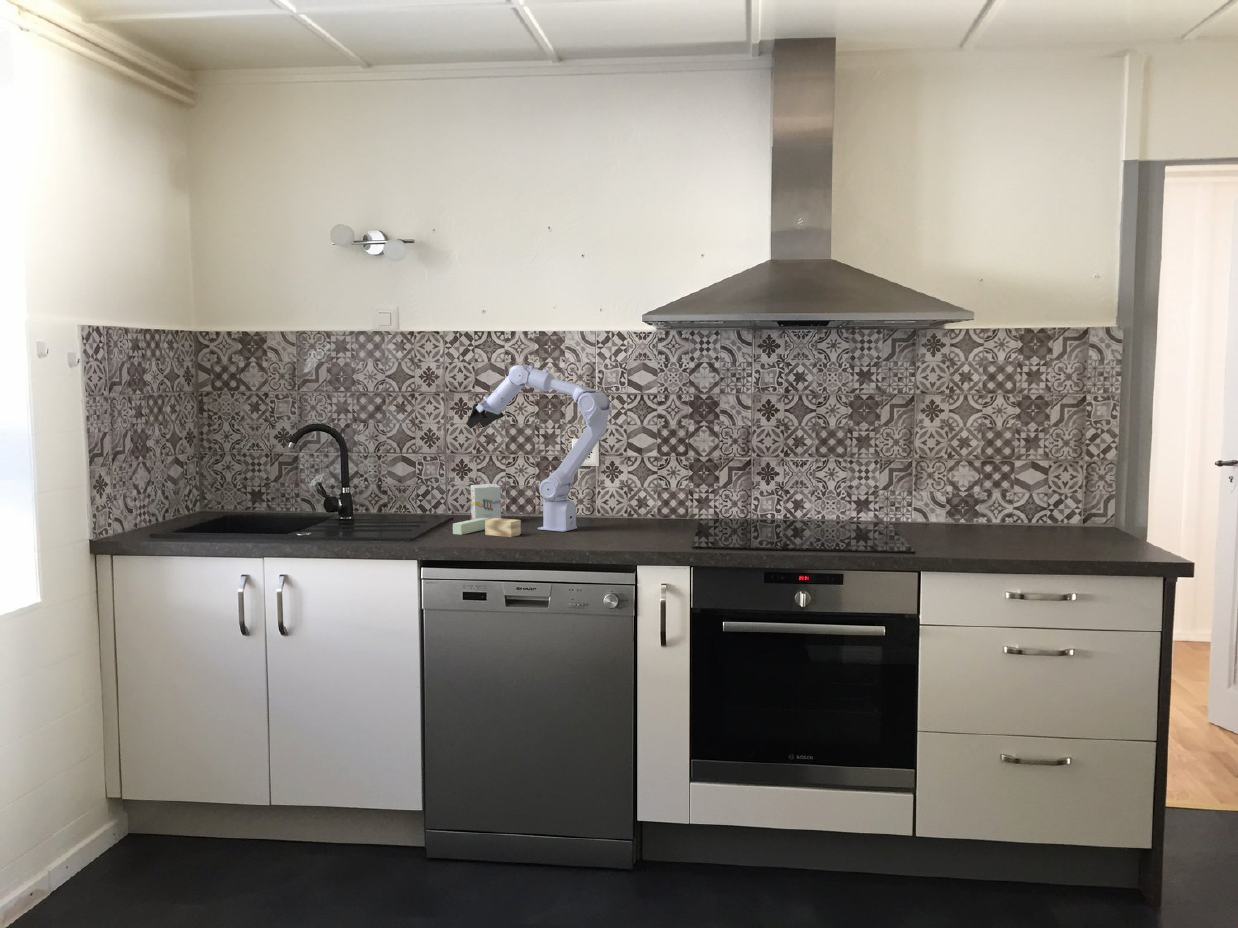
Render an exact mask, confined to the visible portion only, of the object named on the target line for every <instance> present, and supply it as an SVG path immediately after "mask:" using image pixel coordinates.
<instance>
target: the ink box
mask: <svg viewBox="0 0 1238 928" xmlns="http://www.w3.org/2000/svg"><path fill="white" fill-rule="evenodd" d="M501 493H502V492H501V486H500V485H498V484H496V483H482V484H471V485H470V520H473V519H478V518H489V519H492V518H502V498H501V496H502V494H501Z"/></svg>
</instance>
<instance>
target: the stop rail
mask: <svg viewBox="0 0 1238 928" xmlns="http://www.w3.org/2000/svg"><path fill="white" fill-rule="evenodd" d="M487 519H489V518H478V519H473V520H471V519H470V520H464V521H458V522H455V523H452V534H453V535H460V536H461V535H466V534H469V533H474V532H478V531H479V532H480V531H483V530H484V531H485V520H487Z"/></svg>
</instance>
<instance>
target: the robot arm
mask: <svg viewBox="0 0 1238 928" xmlns="http://www.w3.org/2000/svg"><path fill="white" fill-rule="evenodd" d="M525 386H527V387H529V388H531V389H536V390H539V391H542V392H546V393H547V392H549V391H551V390H554V391H557V392H559V393H563V394H565V395H568V396H572V398H573V401H574V403H577V408H578V409H579V411H580V414H581V416H582V417H583V419H584V420H585V425H586V428H585V429H584V430H583V432H582V434H581V435H580V437H579V438H578V439H577V441H575V443H574V444H573V446H572V448H571V449H570V450H569V452H568V453H567V454H566V456H565V457H564V459H563V460H562V461H561V463H560V465H559V466H558V467H557V469H556V470H554V471H553V472H552V473H551V474H549V476H548V477H546V478H545V479H543V480H542V481H541V482H540V485H539V487H538V490H539V491H538V492H539V494H540V495H541V497H542V499H543V500H542V501H543V502H542V503H543V505H542V508H543V509H542V510H543V512H542V515H543V519H542V520H543V522H542V523H543V525H542V526H539V527H537V530H543V531H551V532H552V531H553V532H567V531H572V530H575V529H578V526H577V509H576V508H577V507H576V504H575V502H573V501H571V500H568V495H569V494H570V492H571V488H572V486H573V485H572V484H573V483H574V481H575V477H574V476H575V475H576V473H577V472H578V471H579V469H580V468H581V467H582V465H583V464H584V462H585V461H586V459H587V458H588V456H589V455H590V454H591V452H592V451H593V449H594V448H595V447H596V445H597V444H598V443H599V441H600V440H601V438H602V437H603V436H604V434H605V433H606V430H607V428H608V420H609V413H610V411H611V409H612V408H611V404H610V403H611V402H610V399H609V397H608V396H607V394H605V393H603V392H601V391H598V392H597V390H596V389H594V388H591V387H588V386H586V385H581V384H577V383H573V382H570V381H565V380H561V379H557V378H555V377H554V375H553V373H551V372H550V371H549V370H548V369H542V370H541V369H537V368H535V367H534V366H532V365H524V364H523V365H521V364H517V365H516V364H515V365H513V366H512V367H510V369H509V371H508V376H506V378H505V379H503V380H502V382H501V383H500V384H499V385H498V386H497V387H496V388H495V390H493V392H492V393H491V394H489V396H488V395H484V396H483V401H482V402H481V403H474V404H473V405H472V407H471V408H472V409H471V412H470V415H469V418H468V419H467V421H466V427H468V428H469V429H473V428H474V427H476V425H478V424H480V426H481V428H486V427H488V426H489V425H490V424H492V423H493V422H495V421H496V420H499V419H502V418H503V417H504V413H503V412H505V410H506V409H507V408H508V406H507V405H508V404H509V403H510V402H511V401H512V400H513V399H514V398H515V397H516V396H517V394H519V393H520V391H521V390H522V389H523V388H524V387H525Z"/></svg>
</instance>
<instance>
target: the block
mask: <svg viewBox="0 0 1238 928" xmlns="http://www.w3.org/2000/svg"><path fill="white" fill-rule="evenodd" d="M521 523H522V520H521V519H514V518H512V519H510V518H502V517H501V518H492V519H487V520H485V529H484V534H485V536H498V537H508V538H513V537H517V536H520V534H522V531H521V529H522V526H521Z"/></svg>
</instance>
